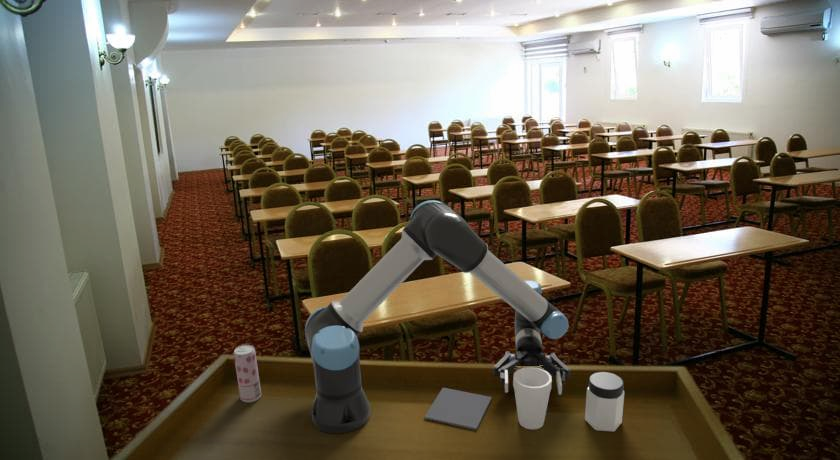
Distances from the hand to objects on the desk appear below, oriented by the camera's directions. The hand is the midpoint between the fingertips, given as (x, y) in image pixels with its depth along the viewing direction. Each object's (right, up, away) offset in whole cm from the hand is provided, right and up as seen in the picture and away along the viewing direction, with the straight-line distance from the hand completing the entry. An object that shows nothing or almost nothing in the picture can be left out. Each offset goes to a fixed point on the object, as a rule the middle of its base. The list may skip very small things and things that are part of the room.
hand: (533, 389), depth 156 cm
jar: (+17, -8, -3) cm, 19 cm away
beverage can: (-76, -6, +13) cm, 77 cm away
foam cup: (-1, -8, -2) cm, 8 cm away
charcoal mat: (-19, -6, +4) cm, 20 cm away
